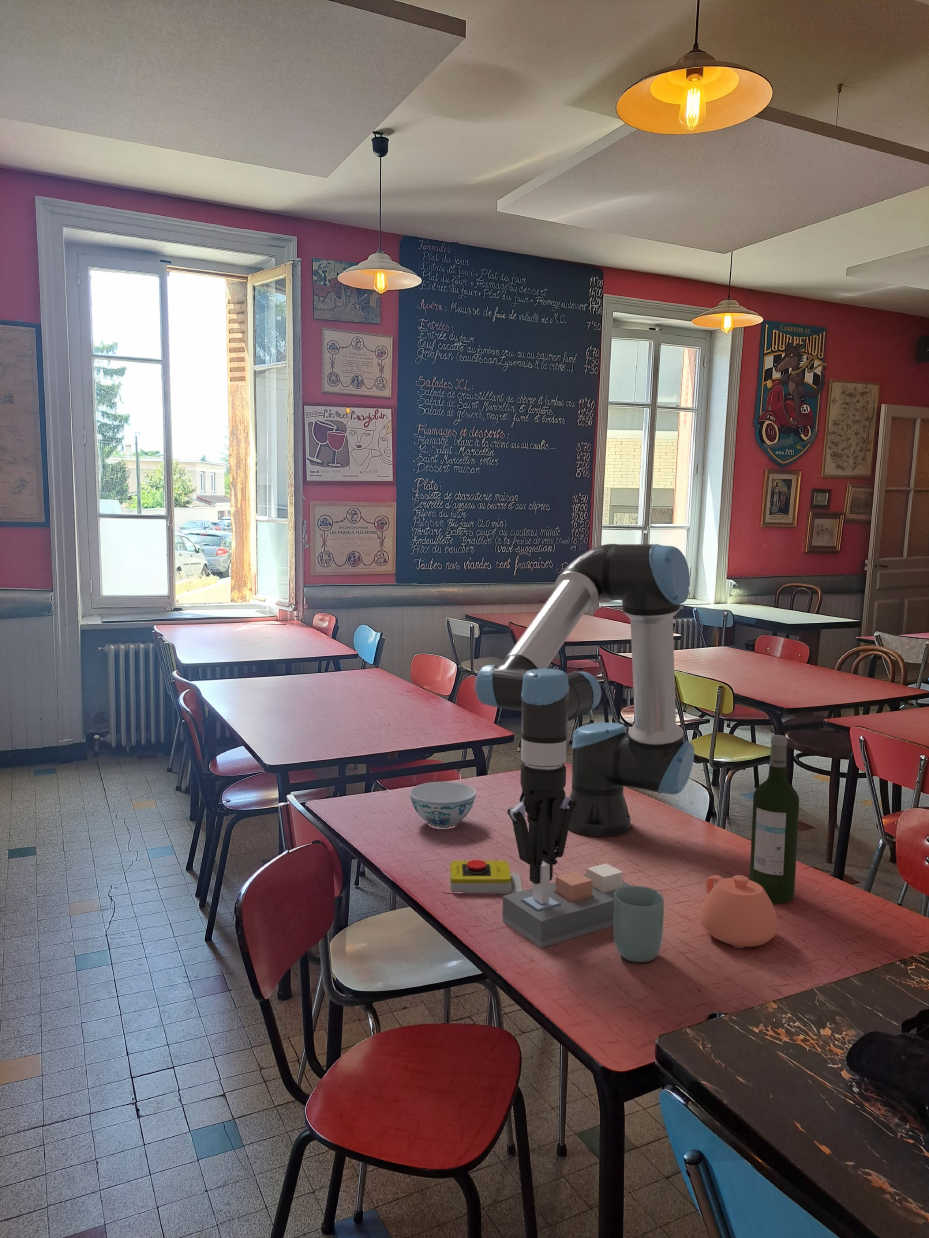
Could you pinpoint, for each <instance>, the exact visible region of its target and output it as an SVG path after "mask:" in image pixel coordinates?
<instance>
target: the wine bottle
mask: <svg viewBox="0 0 929 1238" xmlns="http://www.w3.org/2000/svg"><path fill="white" fill-rule="evenodd" d="M770 745H771V746H770V755H769V764H768V765H769V767H768V768H769V769H768V777H767V779H766V780H764V781H763V782H762V783H760V784H759V785H758V786H757V787H756V788H755V791H754V793H753V802H752V819H751V820H752V821H751V838H750V839H751V840H750V841H751V843H750V860H749V861H750V864H749V880H751V881H754V882H756V883H758V884H759V885H760V886H762V887H763V889H764V890H765V892H766V893H767V895H768V897H769V898H770V900H771V902H772V904H778V905H779V904H786V903H787V904H788V903H790V902H791V901H793V900H794V898H795V889H796V871H797V870H796V869H797V866H796V865H797V853H798V851H797V849H798V835H799V834H798V833H799V832H798V829H799V813H800V797H799V794H798V792H797V790H796V789H795V788H794V787H793V786H792V785H791V784H790V783H789V782H788V779H787V745H788V738H787V736H785V735H781V734H773V735H772V736H771V738H770Z"/></svg>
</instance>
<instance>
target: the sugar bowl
mask: <svg viewBox="0 0 929 1238" xmlns="http://www.w3.org/2000/svg"><path fill="white" fill-rule="evenodd" d="M714 881H715V882H717V883H716V884H715V885H714ZM705 885H706V886H705V888H706V894H707V895H706V897H704V899H703V901H702V903H703V904H702V906H701V910H700V920H701V924H702V925H703V927H704V928H705V930H706V931H707V932H708V933H709V934H710V935H711V936H712V937H713V938H715V939H716V940H719V941H720V942H722V943H725V944H729V945H731V946H732V947H734V948H736V949H744V948H745V947H747V948H748V947H758V946H763V945H765V944H766V943H768V942H770V941H771V940H772V939H773V938H774V937H775V936H776V934H777V933H778V931H779V921H778V915H777V911H776V909H775V906H774V903H772V902H771V900H770V898H769V897H768V895H767V893H766V892H765V890H764V889H763V887H762V886H760V885H759V884H758V883H756V882H754V881H751V880H750V878H749V877H747V876H744V875H741V874H737V875H734V876H732V877H728V878H726V877H725V878H724V877H722V876H721V875H716V874H715V875H710V876H709V877H708V878H707V879H706V884H705Z"/></svg>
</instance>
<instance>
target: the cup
mask: <svg viewBox="0 0 929 1238" xmlns="http://www.w3.org/2000/svg"><path fill="white" fill-rule="evenodd" d="M664 923H665V899H664V896H663V894H661V892H659V891H658V890H656V889H654V888H651V887H649V886H648V887H647V886H643V885H642V886H641V885H631V886H626V887H622V888H619V889H617V890H616V891H615V893H614V904H613V926H612V928H613V929H612V930H613V931H612V932H613V940H614V941H613V942H614V945H615V947H616V951H617V952H618V953H619V955H620V956H621V957H623V958H624V959H625V960H627V961H630V962H632V963H647V962H650V961H653V960H654V959H655V958H656V957H657V956H658V954H659V952H660V950H661V946H662V941H663V937H664V936H663V935H664V926H665V924H664Z"/></svg>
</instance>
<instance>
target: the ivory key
mask: <svg viewBox="0 0 929 1238" xmlns="http://www.w3.org/2000/svg"><path fill="white" fill-rule="evenodd" d="M586 872H587V873H586V874H587V878H589V879H591V880H592V888H594V889H596V890H597V891H599V892H601V893H603V894H604V893H607V892H611V891H614V890H617V889H619V888H622V885H623V882H624V880H623V878H624V872H623V871H622V870H619V869H618V868H616V867H614V866H612V865H610V864H609V863H603V864H599V865H595V866H590V867H587V870H586Z"/></svg>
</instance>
